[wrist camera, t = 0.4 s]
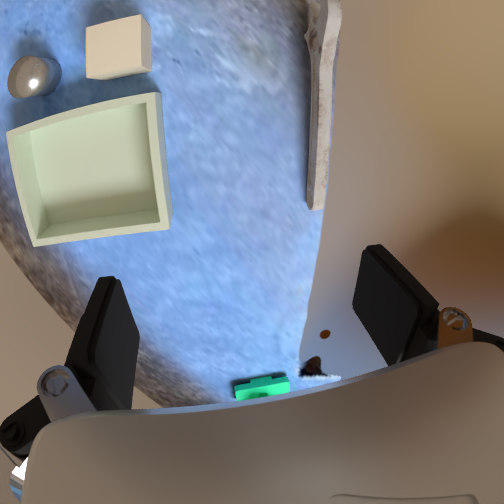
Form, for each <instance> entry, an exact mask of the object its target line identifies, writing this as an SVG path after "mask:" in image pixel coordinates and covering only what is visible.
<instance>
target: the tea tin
mask: <svg viewBox="0 0 504 504" xmlns="http://www.w3.org/2000/svg"><path fill="white" fill-rule="evenodd" d="M61 75H62V69H61V66H60V64H59V63H58V62H57V61H56V60H54V59H48V58H41V57H35V56H25V57H23V58H21V59H19V60H18V61H17V62H16V63H15V64H14V66H13V67H12V69H11V71H10V73H9V76H8V90H9V92H10V94H11V95H12V96H13V97H15V98H25V97H34V96H44V95H48V94H50V93H51V92H53V91H54V90H55V89H56V87H57V86H58V84H59V82H60V80H61Z"/></svg>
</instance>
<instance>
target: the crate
mask: <svg viewBox="0 0 504 504" xmlns="http://www.w3.org/2000/svg"><path fill="white" fill-rule="evenodd" d="M6 135H7V142H8V149H9V155H10V160H11V166H12V171H13V175H14V180H15V185H16V189H17V193H18V197H19V201H20V205H21V208H22V212H23V215H24V219H25V222H26V225H27V229H28V232H29V235H30V238H31V241H32V244H33V247H37V246H43V245H50V244H57V243H64V242H71V241H78V240H85V239H92V238H100V237H108V236H116V235H124V234H132V233H140V232H149V231H157V230H166V229H170V225H171V220H172V215H173V208H172V201H171V193H170V185H169V176H168V167H167V158H166V147H165V136H164V124H163V111H162V95H161V93H158V92H152V93H145V94H139V95H133V96H128V97H123V98H118V99H113V100H108V101H104V102H100V103H95V104H91V105H87V106H83V107H80V108H76V109H72V110H69V111H65V112H62V113H59V114H55V115H52V116H49V117H46V118H43V119H40V120H37V121H34V122H31V123H29V124H26V125H23V126H21V127H18V128H15V129H13V130H10V131H8V132H6Z"/></svg>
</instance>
